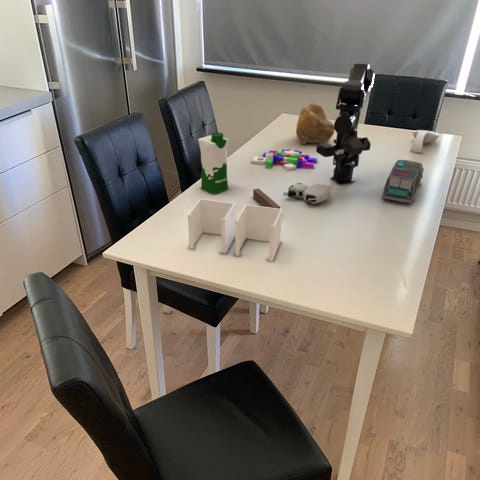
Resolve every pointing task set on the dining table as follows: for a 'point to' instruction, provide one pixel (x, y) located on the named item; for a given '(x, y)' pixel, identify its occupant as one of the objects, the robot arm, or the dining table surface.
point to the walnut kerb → (264, 199)
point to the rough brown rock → (314, 125)
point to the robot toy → (309, 192)
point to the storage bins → (223, 223)
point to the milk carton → (214, 162)
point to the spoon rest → (422, 139)
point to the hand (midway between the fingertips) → (340, 171)
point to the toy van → (403, 181)
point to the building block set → (286, 159)
